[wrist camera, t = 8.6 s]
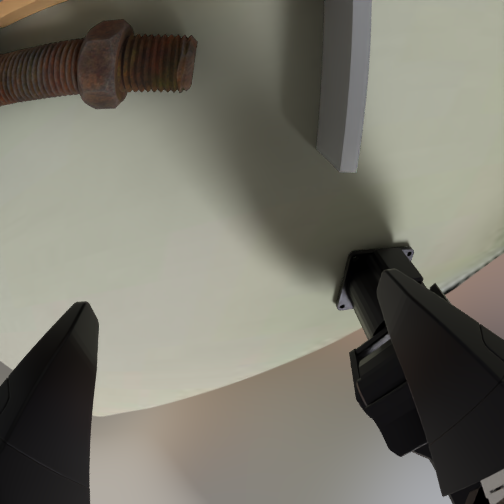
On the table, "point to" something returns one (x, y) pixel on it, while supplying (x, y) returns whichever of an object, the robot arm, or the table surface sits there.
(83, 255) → the table surface
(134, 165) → the table surface
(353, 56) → the grey shallow open frame
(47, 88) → the bolt
